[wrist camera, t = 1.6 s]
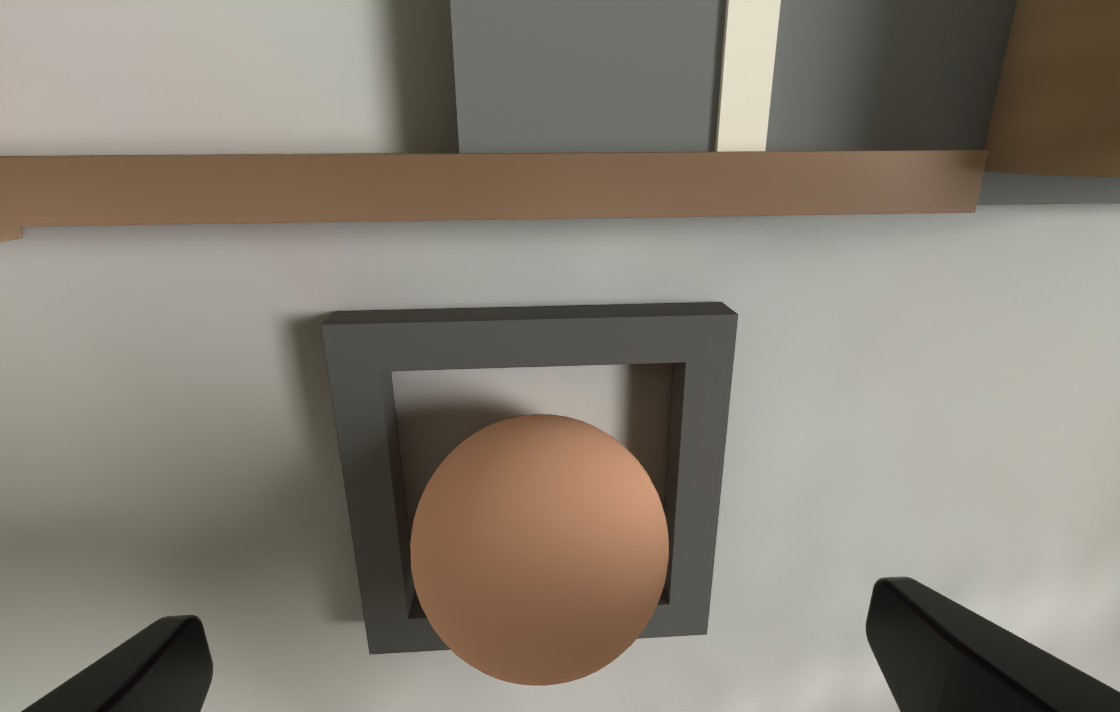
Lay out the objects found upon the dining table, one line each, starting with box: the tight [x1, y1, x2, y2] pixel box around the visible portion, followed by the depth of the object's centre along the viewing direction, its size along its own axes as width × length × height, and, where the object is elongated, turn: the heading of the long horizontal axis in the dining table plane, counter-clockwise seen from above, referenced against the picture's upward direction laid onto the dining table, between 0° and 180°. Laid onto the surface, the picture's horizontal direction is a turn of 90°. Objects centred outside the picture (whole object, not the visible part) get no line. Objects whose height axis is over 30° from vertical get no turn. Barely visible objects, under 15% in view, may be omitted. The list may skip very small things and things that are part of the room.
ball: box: [410, 414, 669, 685], centre depth 9 cm, size 4×4×4 cm
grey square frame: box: [321, 302, 738, 654], centre depth 11 cm, size 7×7×1 cm
